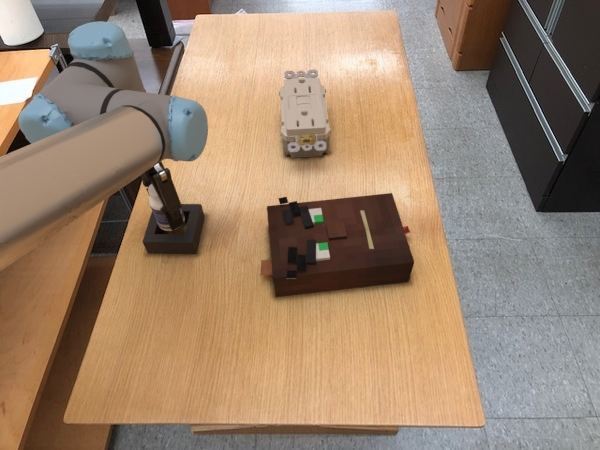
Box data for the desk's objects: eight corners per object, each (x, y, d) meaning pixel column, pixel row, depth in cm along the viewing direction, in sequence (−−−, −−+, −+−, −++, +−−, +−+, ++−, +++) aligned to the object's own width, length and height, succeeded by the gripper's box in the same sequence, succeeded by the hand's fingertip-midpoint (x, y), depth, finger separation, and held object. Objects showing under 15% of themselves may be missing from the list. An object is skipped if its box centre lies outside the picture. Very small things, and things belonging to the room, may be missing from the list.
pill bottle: (185, 230, 89) (172, 196, 81) (157, 233, 88) (142, 200, 81) (185, 209, 92) (173, 175, 84) (159, 213, 92) (144, 179, 84)
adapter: (196, 254, 90) (192, 242, 87) (148, 253, 91) (141, 241, 88) (205, 216, 96) (201, 203, 93) (159, 215, 97) (154, 203, 94)
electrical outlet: (323, 95, 121) (323, 63, 113) (332, 174, 105) (334, 144, 96) (280, 97, 121) (277, 66, 113) (283, 177, 105) (280, 147, 96)
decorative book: (430, 263, 78) (258, 282, 77) (422, 286, 84) (263, 304, 83) (402, 184, 90) (254, 200, 89) (397, 209, 96) (258, 223, 95)
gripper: (181, 141, 68) (210, 235, 86) (127, 89, 77) (164, 183, 95) (137, 164, 65) (176, 256, 83) (86, 107, 74) (132, 201, 92)
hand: (169, 217), depth 89 cm, fingers closed on pill bottle, 5 cm apart
